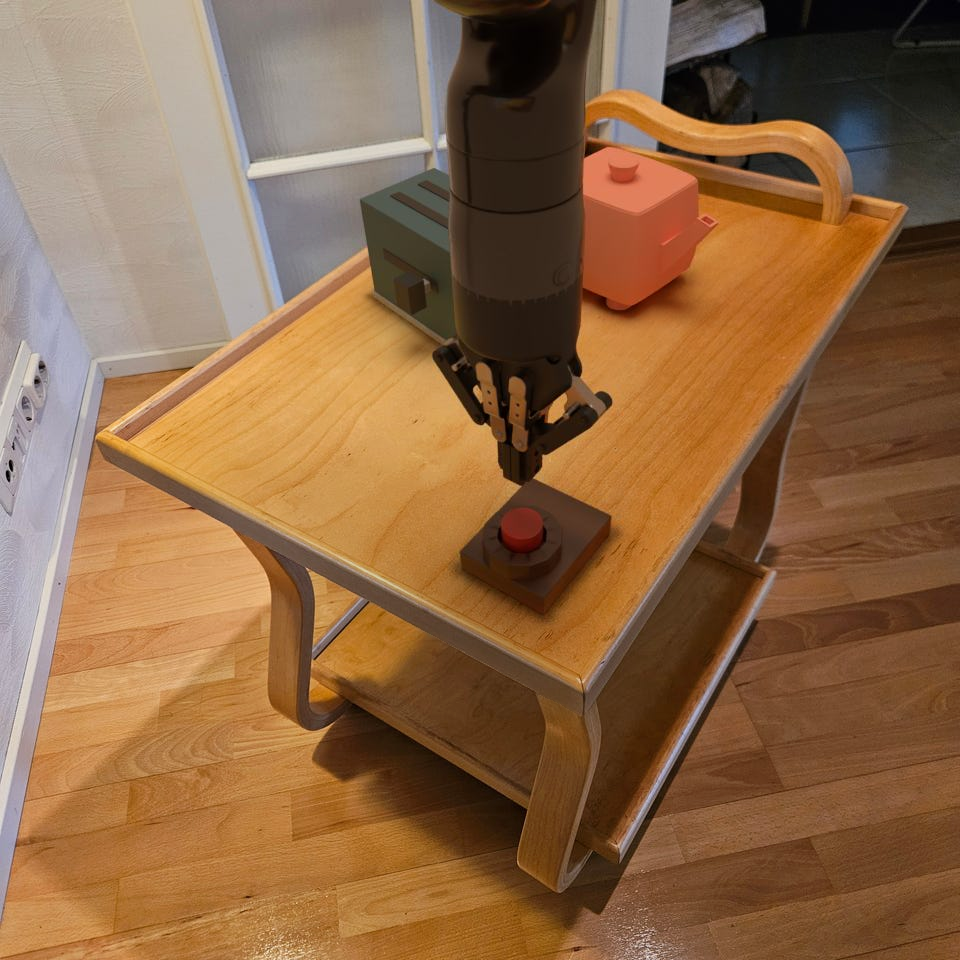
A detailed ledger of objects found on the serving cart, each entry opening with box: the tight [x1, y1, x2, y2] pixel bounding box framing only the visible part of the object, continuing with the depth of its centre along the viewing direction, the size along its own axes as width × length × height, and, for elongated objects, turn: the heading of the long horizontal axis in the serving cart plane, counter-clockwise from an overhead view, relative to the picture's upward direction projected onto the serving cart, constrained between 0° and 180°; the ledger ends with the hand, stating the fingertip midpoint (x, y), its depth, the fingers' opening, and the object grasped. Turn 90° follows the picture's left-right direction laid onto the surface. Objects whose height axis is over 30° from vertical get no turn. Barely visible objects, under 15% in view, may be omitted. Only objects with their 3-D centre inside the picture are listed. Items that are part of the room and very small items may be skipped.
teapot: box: [583, 146, 720, 311], centre depth 90 cm, size 22×13×14 cm, turn 44°
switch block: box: [459, 477, 613, 616], centre depth 66 cm, size 10×8×4 cm
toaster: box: [359, 167, 457, 345], centre depth 88 cm, size 10×16×12 cm, turn 40°
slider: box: [394, 271, 431, 315], centre depth 83 cm, size 3×2×3 cm
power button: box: [501, 508, 543, 553], centre depth 63 cm, size 3×3×2 cm
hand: (519, 475), depth 59 cm, fingers closed
